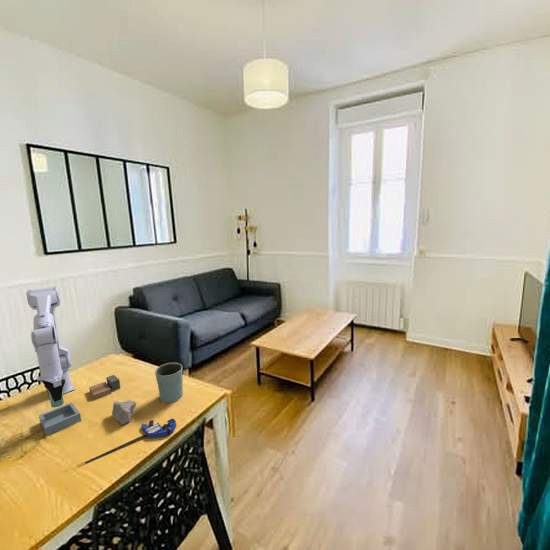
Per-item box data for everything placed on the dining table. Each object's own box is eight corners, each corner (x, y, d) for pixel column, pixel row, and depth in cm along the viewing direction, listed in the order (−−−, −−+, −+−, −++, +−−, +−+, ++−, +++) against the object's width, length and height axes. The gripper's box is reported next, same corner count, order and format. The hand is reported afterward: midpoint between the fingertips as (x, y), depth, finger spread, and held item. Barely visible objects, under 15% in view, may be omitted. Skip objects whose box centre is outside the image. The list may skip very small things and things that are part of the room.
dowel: (50, 404, 106) (46, 383, 105) (62, 400, 109) (58, 379, 107) (52, 408, 104) (48, 387, 102) (65, 404, 106) (61, 383, 105)
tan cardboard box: (90, 392, 126) (89, 387, 125) (106, 386, 130) (105, 381, 129) (94, 400, 120) (93, 395, 120) (111, 394, 124) (110, 388, 123)
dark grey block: (107, 386, 129) (106, 377, 129) (115, 383, 132) (113, 374, 131) (112, 391, 125) (111, 382, 125) (120, 388, 128) (119, 379, 127)
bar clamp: (168, 410, 108) (178, 425, 101) (169, 416, 109) (179, 431, 101) (59, 458, 90) (61, 480, 82) (61, 464, 90) (63, 488, 82)
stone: (141, 419, 108) (139, 404, 107) (116, 428, 103) (113, 413, 102) (135, 405, 116) (133, 391, 115) (111, 414, 111) (109, 399, 110)
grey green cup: (174, 386, 127) (172, 360, 125) (190, 394, 122) (187, 366, 119) (153, 398, 119) (149, 370, 117) (168, 407, 114) (165, 378, 111)
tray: (40, 422, 107) (38, 415, 107) (73, 409, 114) (71, 402, 114) (46, 435, 101) (45, 428, 100) (81, 420, 108) (79, 413, 107)
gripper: (30, 359, 105) (37, 395, 108) (39, 373, 95) (47, 412, 98) (54, 352, 110) (61, 386, 113) (65, 364, 100) (72, 402, 103)
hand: (56, 398), depth 106 cm, fingers closed on dowel, 4 cm apart
